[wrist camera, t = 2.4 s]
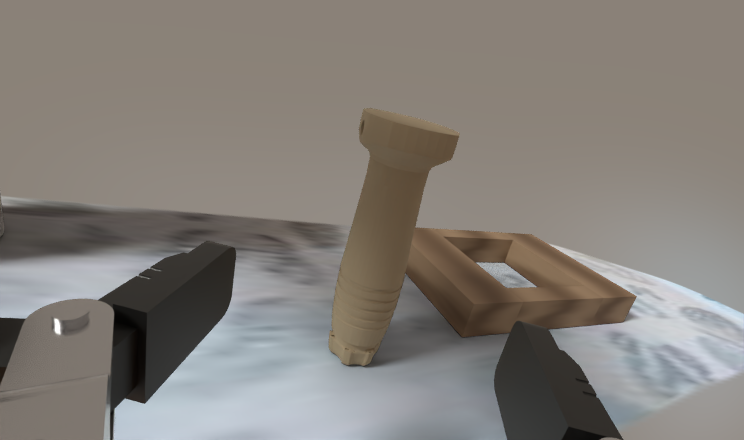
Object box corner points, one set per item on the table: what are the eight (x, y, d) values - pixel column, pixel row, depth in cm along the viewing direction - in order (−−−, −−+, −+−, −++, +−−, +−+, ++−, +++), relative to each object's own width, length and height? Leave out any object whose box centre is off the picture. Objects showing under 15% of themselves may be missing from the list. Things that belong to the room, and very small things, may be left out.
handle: (377, 323, 28) (432, 121, 23) (399, 390, 23) (478, 141, 18) (312, 318, 27) (355, 104, 22) (318, 389, 21) (379, 120, 16)
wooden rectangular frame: (462, 337, 29) (474, 304, 28) (386, 251, 41) (393, 226, 40) (623, 322, 38) (636, 296, 37) (523, 255, 50) (531, 234, 49)
